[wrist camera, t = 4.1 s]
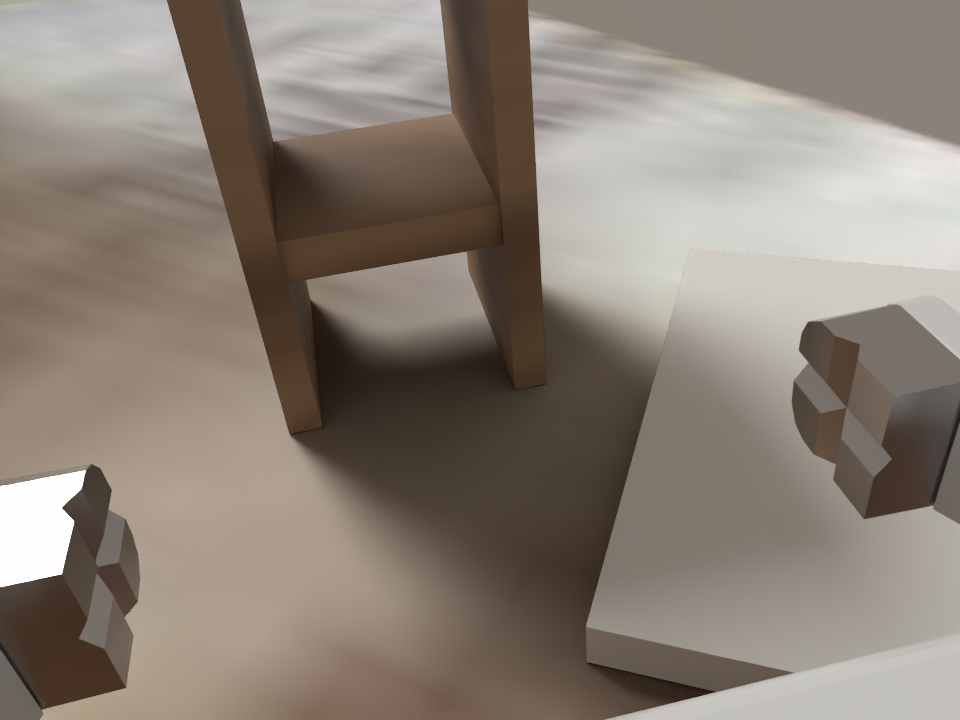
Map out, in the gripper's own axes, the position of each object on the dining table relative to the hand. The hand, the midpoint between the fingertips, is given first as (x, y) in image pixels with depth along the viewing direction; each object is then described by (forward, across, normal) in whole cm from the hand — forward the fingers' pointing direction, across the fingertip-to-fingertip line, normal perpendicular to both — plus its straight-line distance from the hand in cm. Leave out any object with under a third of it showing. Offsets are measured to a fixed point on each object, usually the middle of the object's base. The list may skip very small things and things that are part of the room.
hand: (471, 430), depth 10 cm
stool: (+12, 0, +7) cm, 14 cm away
